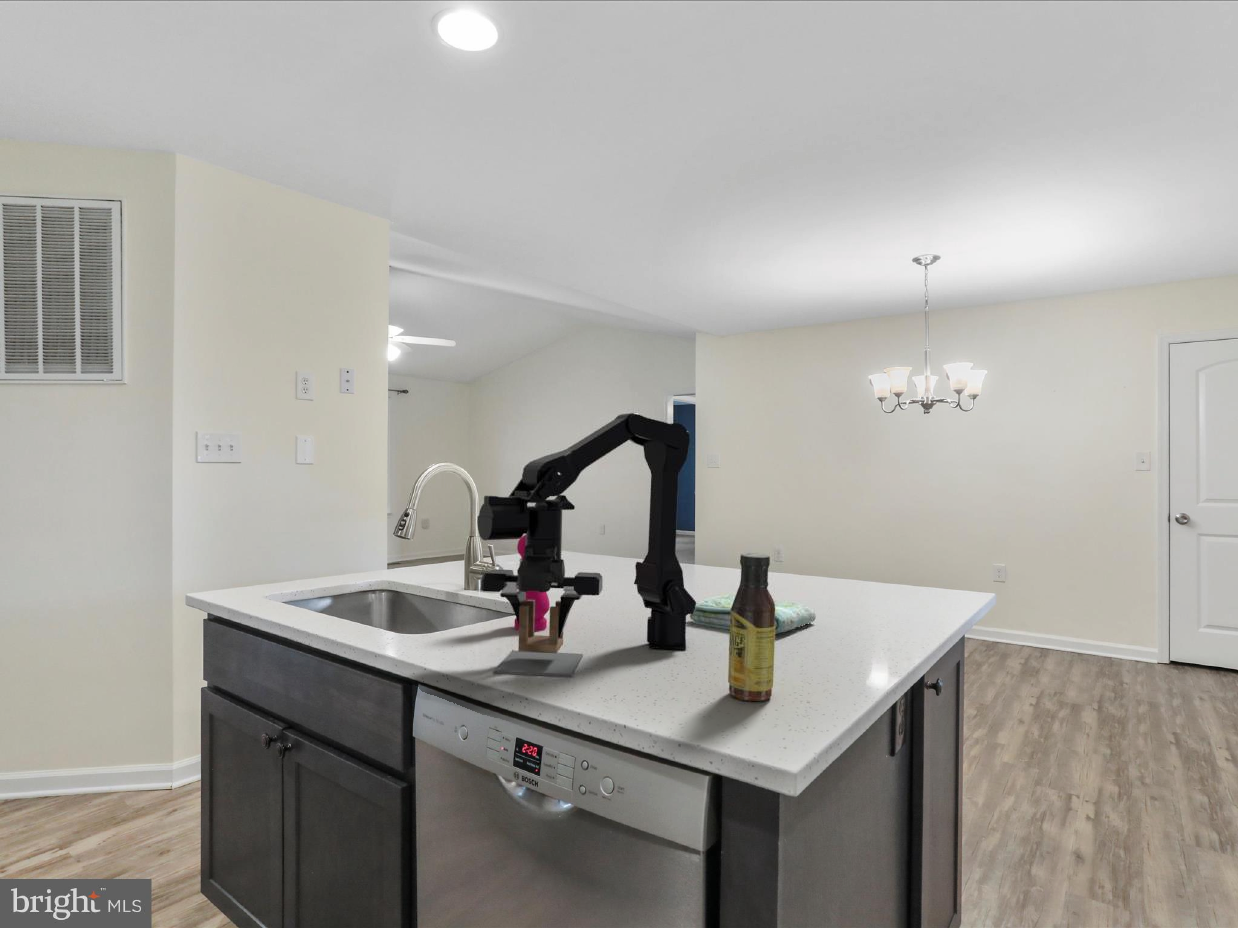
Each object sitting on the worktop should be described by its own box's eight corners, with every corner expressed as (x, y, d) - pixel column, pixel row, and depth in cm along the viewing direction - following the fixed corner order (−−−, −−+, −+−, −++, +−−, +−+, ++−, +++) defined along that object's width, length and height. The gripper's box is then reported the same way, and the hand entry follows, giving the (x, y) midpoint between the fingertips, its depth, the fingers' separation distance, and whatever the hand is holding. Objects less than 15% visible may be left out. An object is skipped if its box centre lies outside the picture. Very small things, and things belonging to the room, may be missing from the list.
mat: (582, 656, 116) (582, 653, 116) (571, 676, 104) (571, 674, 104) (512, 652, 117) (512, 650, 117) (493, 672, 105) (493, 670, 105)
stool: (563, 643, 114) (564, 600, 114) (556, 653, 108) (557, 608, 108) (527, 642, 114) (527, 599, 114) (518, 651, 108) (519, 606, 108)
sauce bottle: (723, 689, 100) (726, 551, 100) (765, 689, 101) (768, 551, 101) (734, 704, 94) (737, 556, 94) (779, 704, 94) (782, 557, 94)
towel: (727, 611, 159) (727, 589, 160) (816, 625, 147) (817, 601, 147) (685, 624, 145) (685, 599, 145) (780, 641, 132) (781, 614, 132)
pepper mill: (552, 624, 140) (554, 525, 140) (544, 632, 132) (547, 527, 133) (516, 623, 140) (519, 523, 141) (507, 631, 133) (510, 526, 133)
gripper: (471, 541, 104) (469, 646, 104) (595, 545, 102) (593, 651, 102) (491, 534, 115) (489, 629, 115) (603, 538, 113) (601, 634, 113)
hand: (541, 636), depth 111 cm, fingers closed on stool, 5 cm apart
